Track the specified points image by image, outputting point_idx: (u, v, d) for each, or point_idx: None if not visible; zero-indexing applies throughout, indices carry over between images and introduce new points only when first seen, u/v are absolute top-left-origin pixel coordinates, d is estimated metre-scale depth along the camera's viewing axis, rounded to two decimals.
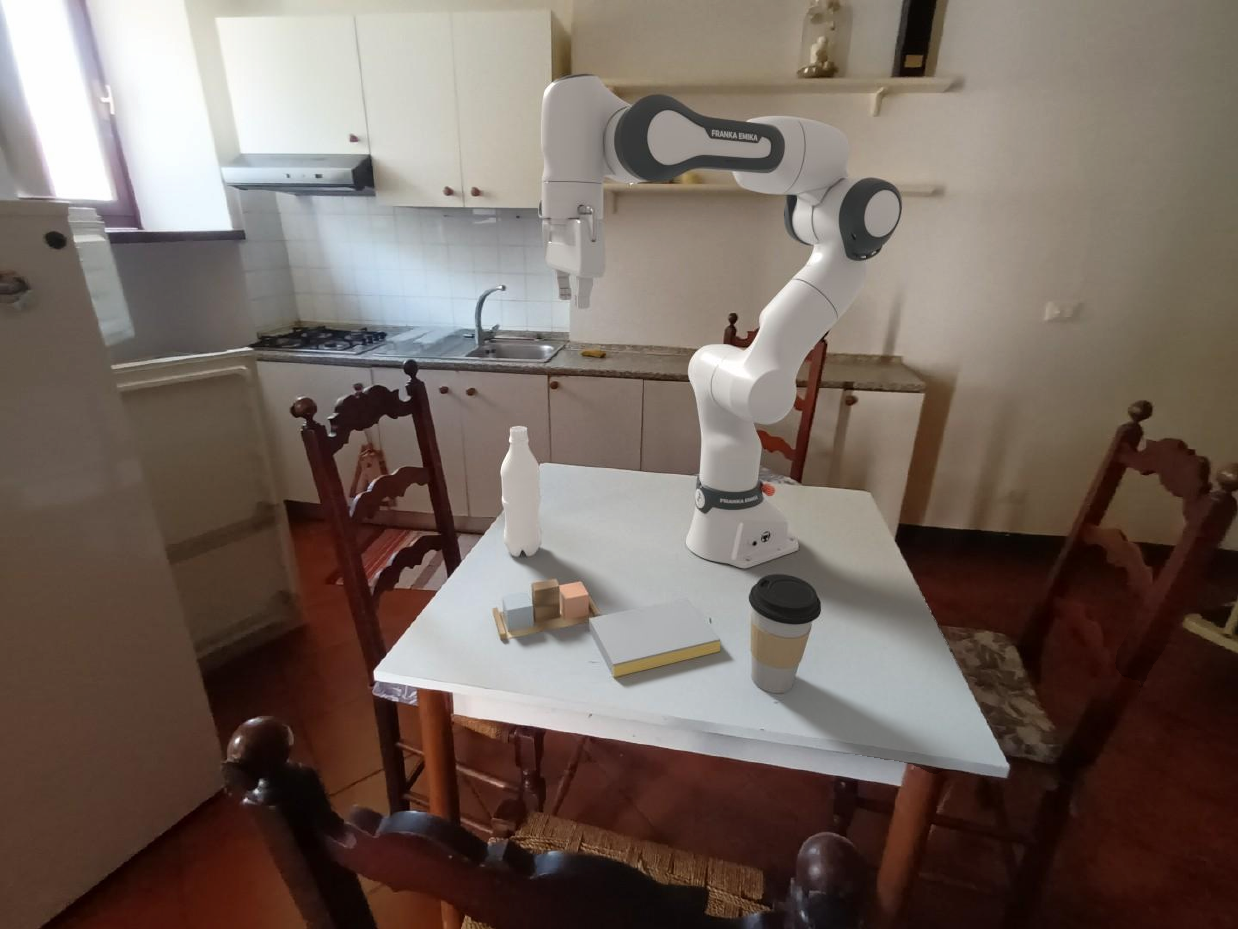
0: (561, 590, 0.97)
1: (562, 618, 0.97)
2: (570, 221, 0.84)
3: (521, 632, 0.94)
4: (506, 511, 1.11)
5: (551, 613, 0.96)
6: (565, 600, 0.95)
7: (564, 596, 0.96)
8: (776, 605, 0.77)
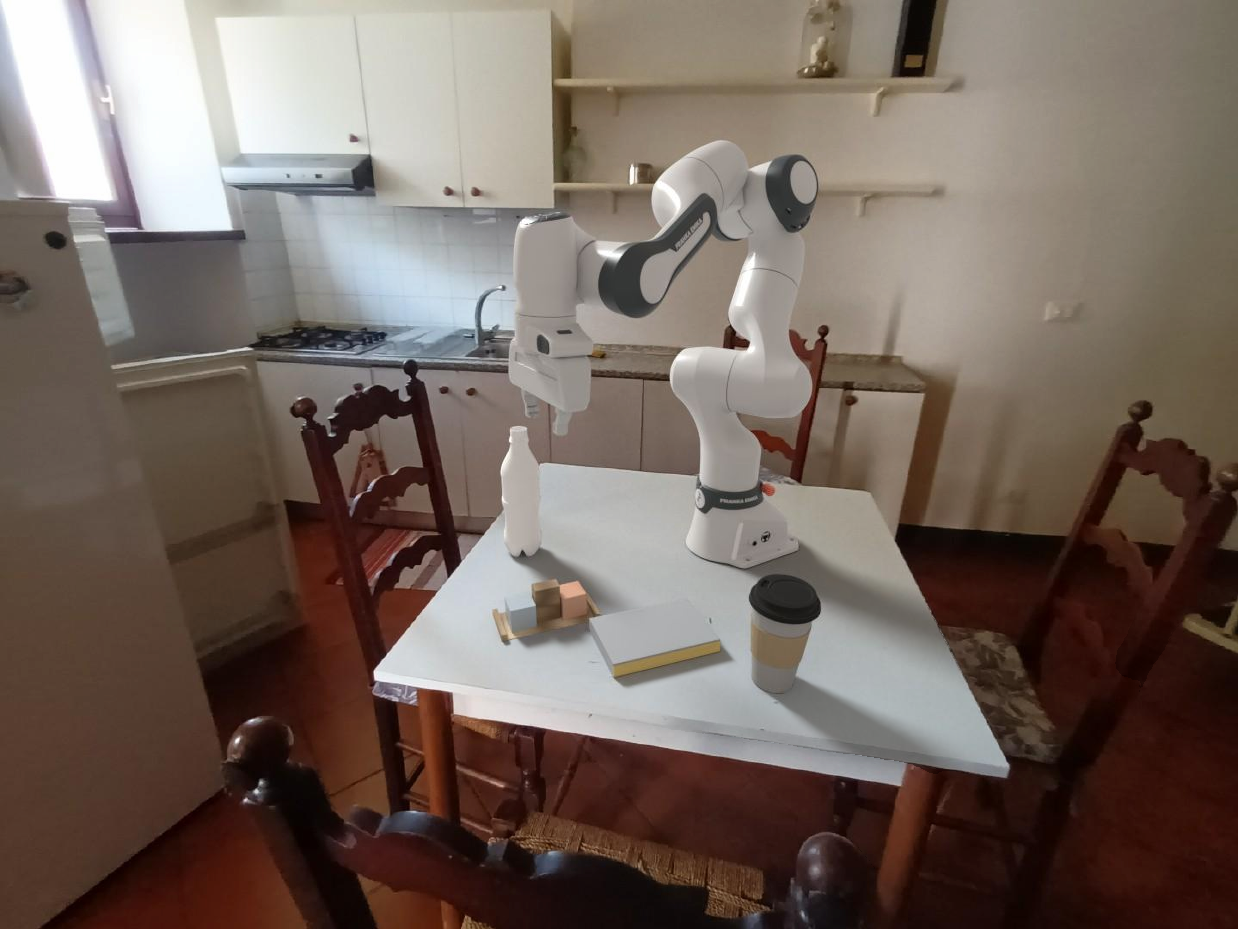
0: None
1: None
2: None
3: (522, 633, 0.93)
4: (506, 511, 1.11)
5: (551, 613, 0.96)
6: (563, 600, 0.95)
7: (562, 596, 0.96)
8: (776, 605, 0.77)
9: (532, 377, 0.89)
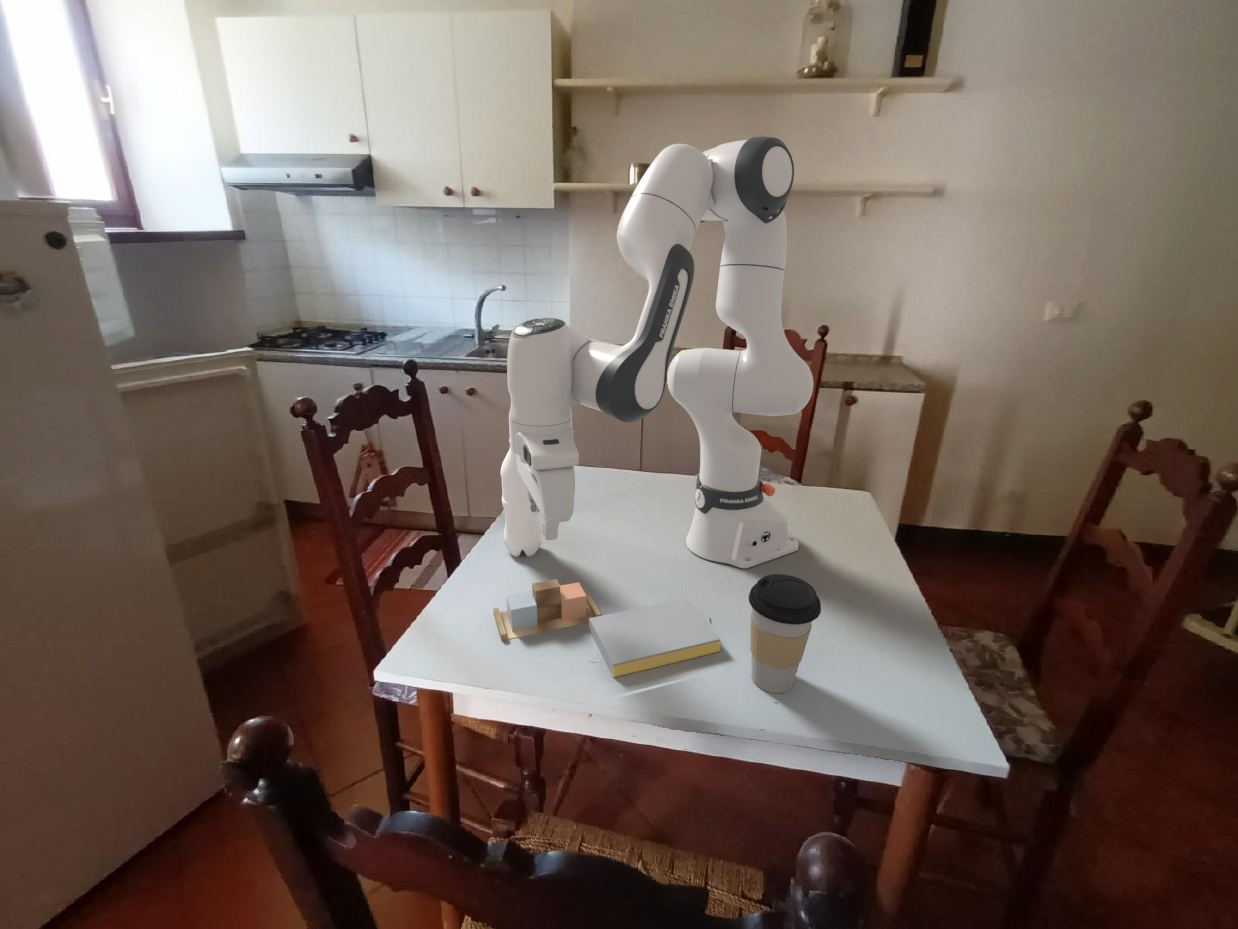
0: None
1: None
2: None
3: (522, 633, 0.94)
4: (506, 511, 1.11)
5: (552, 613, 0.96)
6: (563, 601, 0.95)
7: (562, 597, 0.96)
8: (776, 605, 0.77)
9: (528, 477, 0.88)
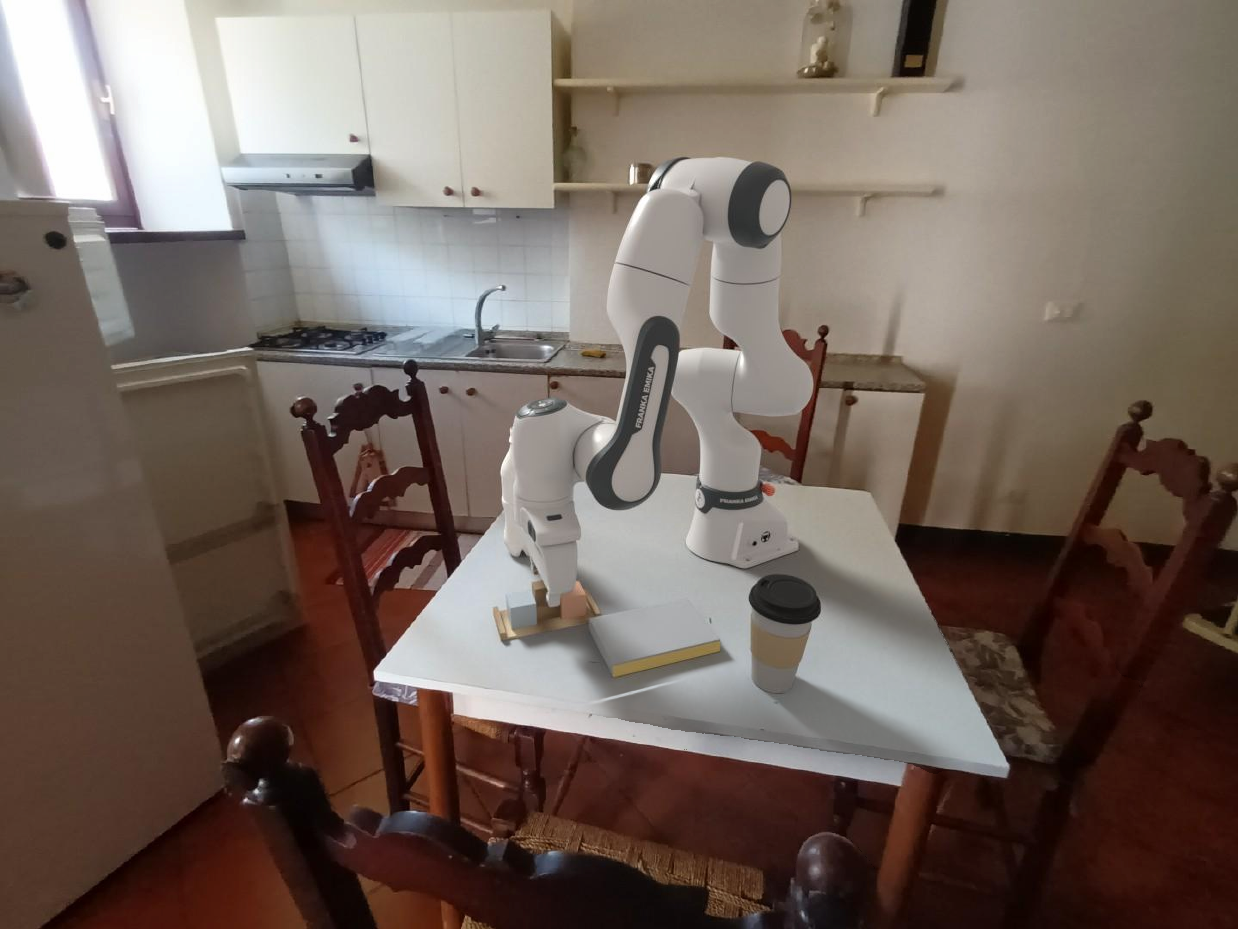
0: None
1: None
2: None
3: (521, 631, 0.93)
4: (506, 511, 1.11)
5: (551, 612, 0.96)
6: (562, 599, 0.95)
7: (561, 596, 0.95)
8: (776, 605, 0.77)
9: (531, 545, 0.92)
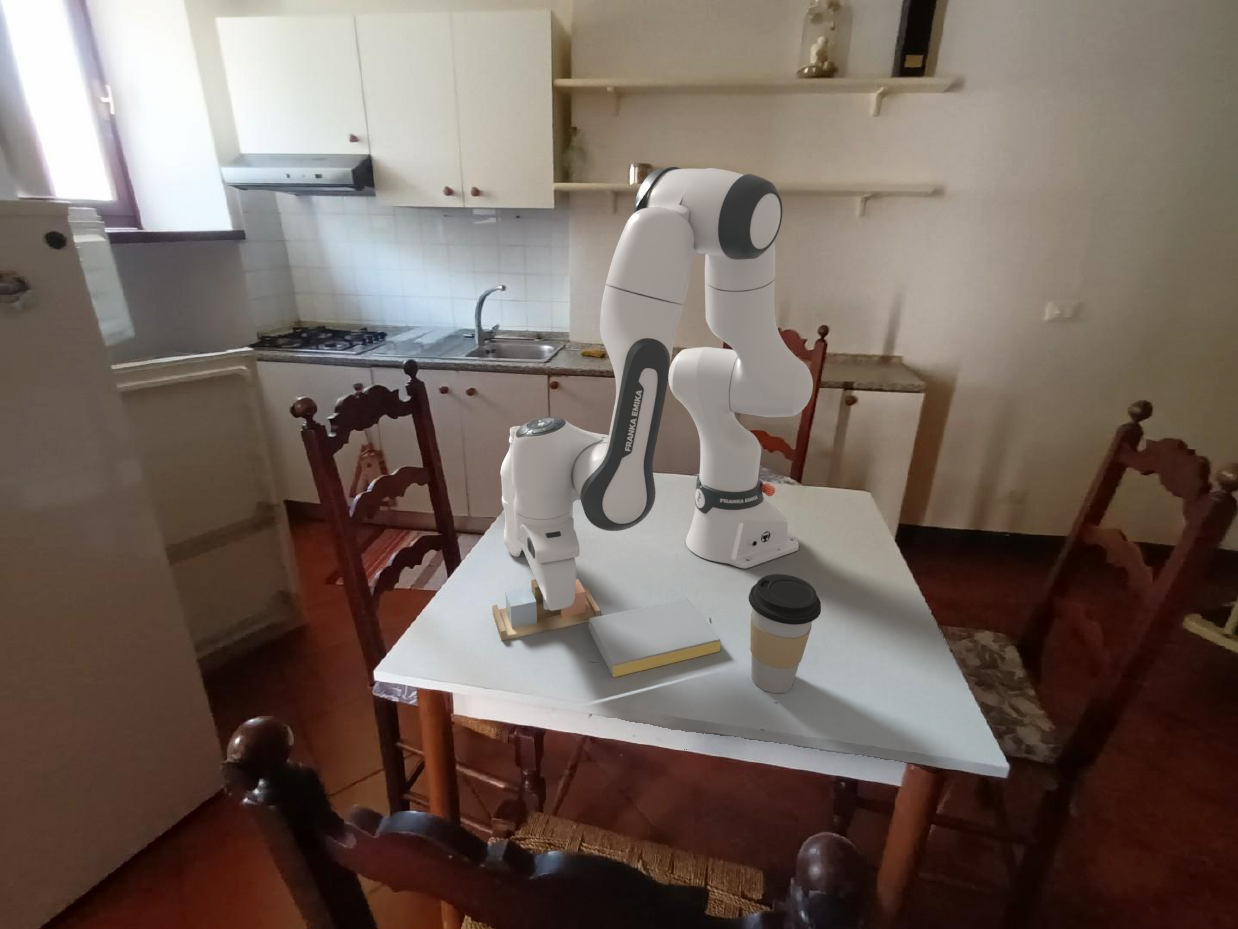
0: None
1: None
2: None
3: (521, 629, 0.93)
4: (506, 511, 1.11)
5: None
6: None
7: None
8: (776, 605, 0.77)
9: (532, 559, 0.94)
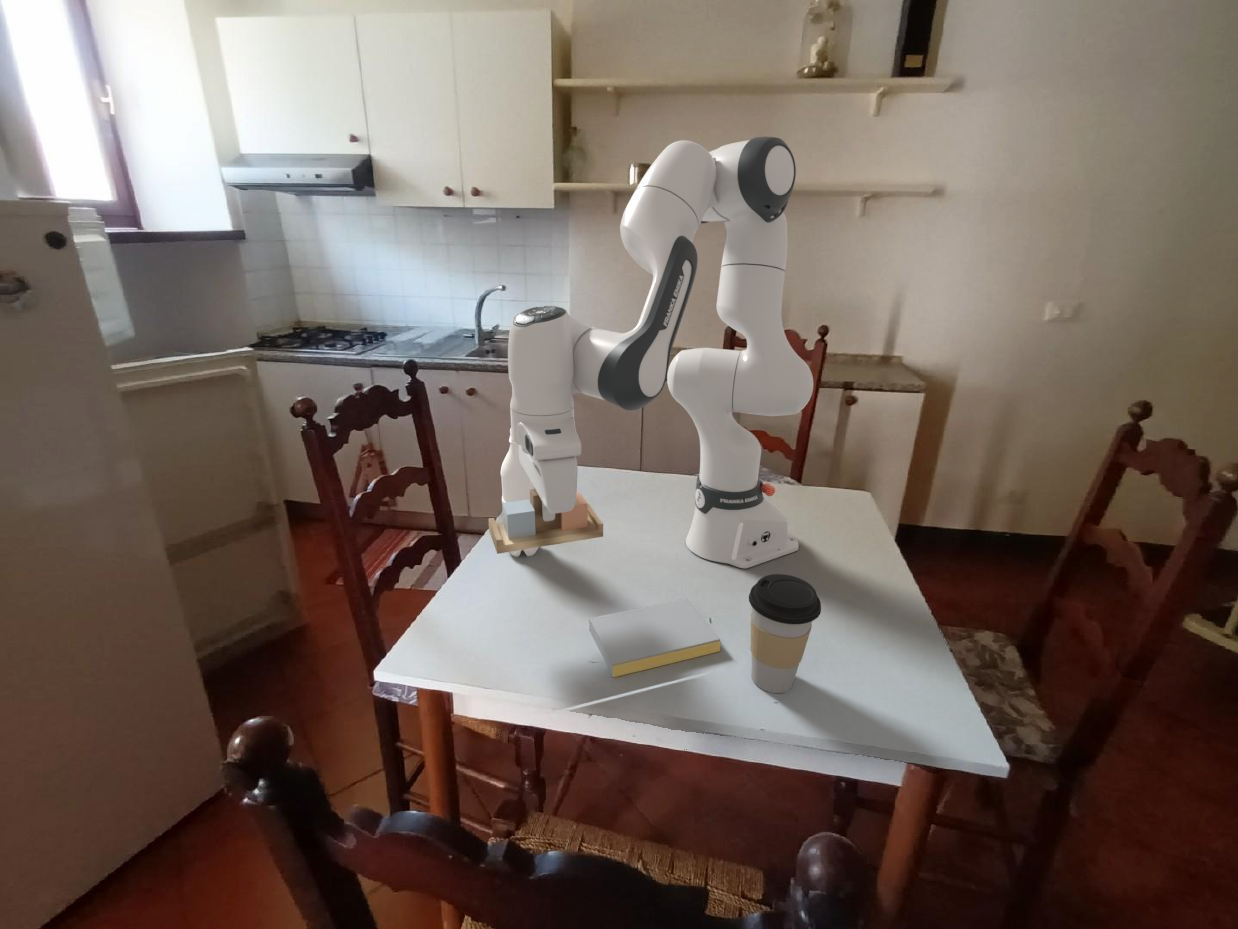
0: None
1: None
2: None
3: (519, 540, 0.87)
4: None
5: (551, 522, 0.90)
6: None
7: None
8: (776, 605, 0.77)
9: (530, 467, 0.88)
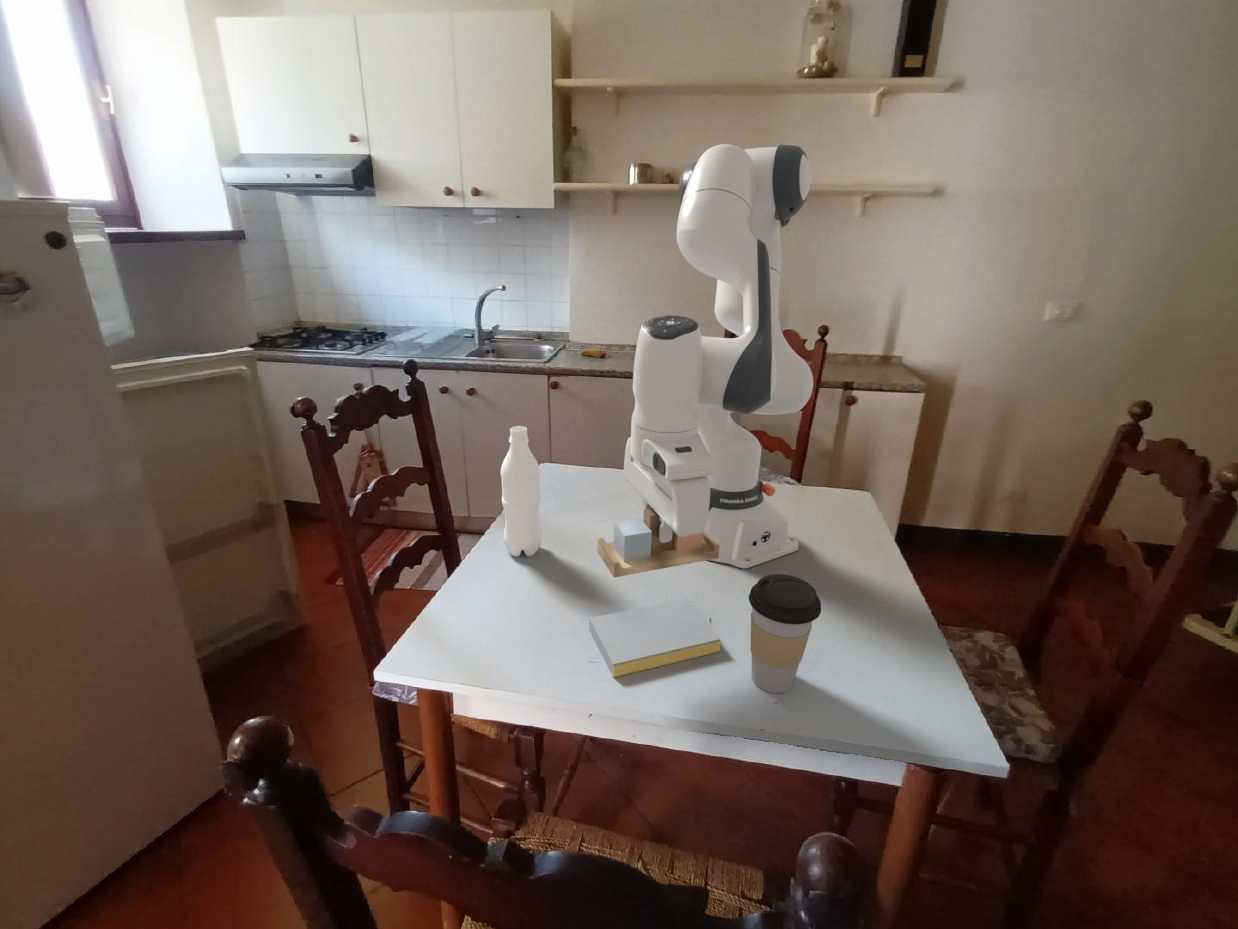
0: None
1: None
2: None
3: (635, 563, 0.83)
4: (506, 511, 1.11)
5: (665, 543, 0.85)
6: None
7: None
8: (776, 605, 0.77)
9: (647, 485, 0.83)
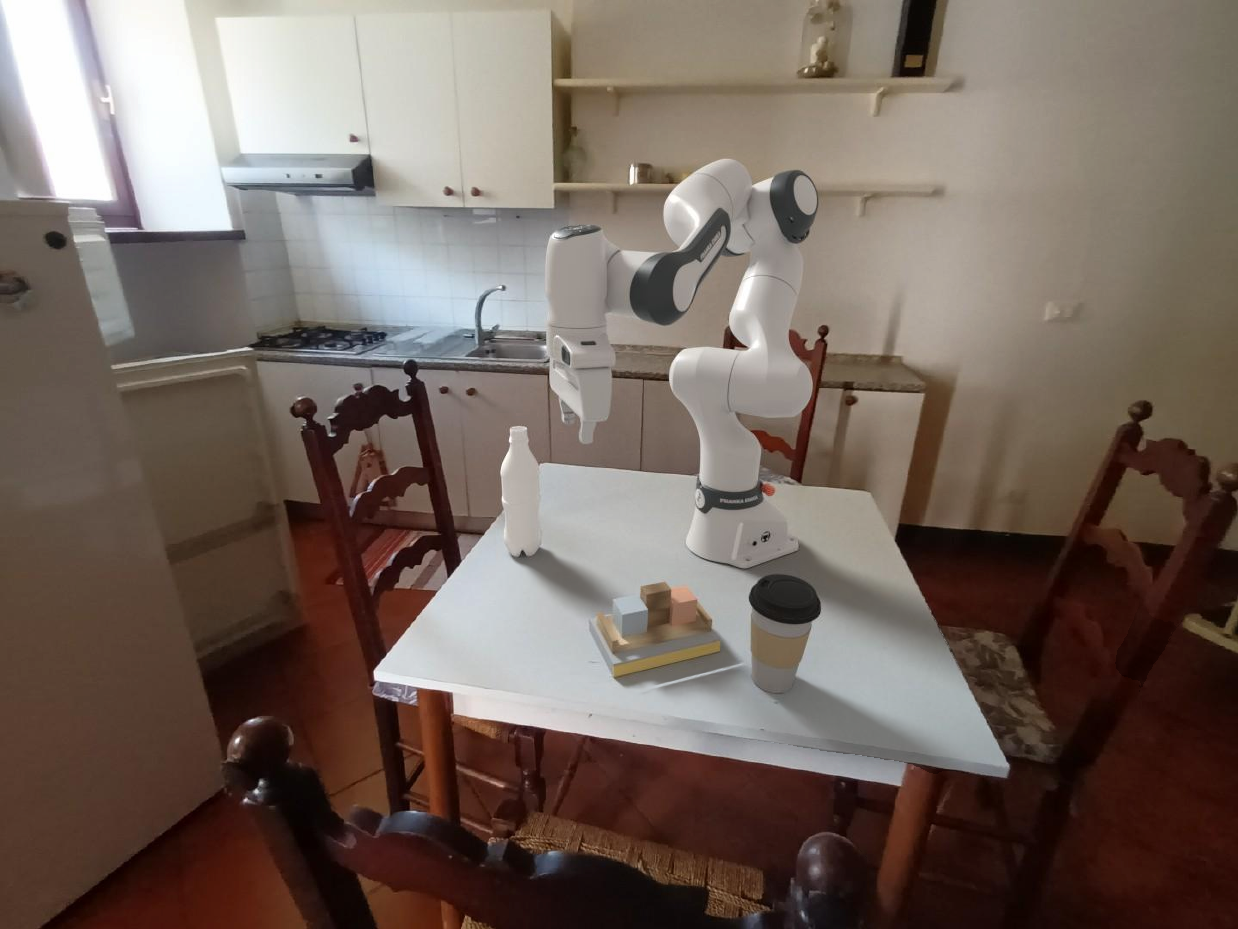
0: None
1: None
2: None
3: (632, 639, 0.88)
4: (506, 511, 1.11)
5: (661, 618, 0.90)
6: (674, 605, 0.89)
7: (672, 601, 0.90)
8: (776, 605, 0.77)
9: (563, 385, 0.91)
